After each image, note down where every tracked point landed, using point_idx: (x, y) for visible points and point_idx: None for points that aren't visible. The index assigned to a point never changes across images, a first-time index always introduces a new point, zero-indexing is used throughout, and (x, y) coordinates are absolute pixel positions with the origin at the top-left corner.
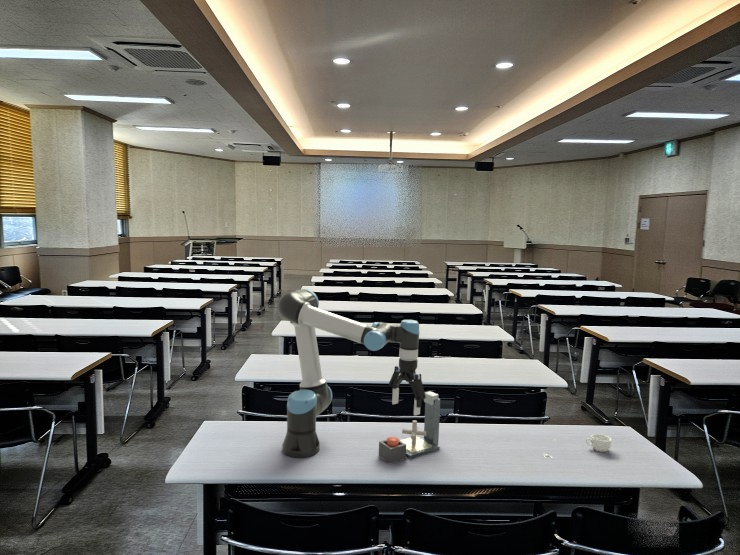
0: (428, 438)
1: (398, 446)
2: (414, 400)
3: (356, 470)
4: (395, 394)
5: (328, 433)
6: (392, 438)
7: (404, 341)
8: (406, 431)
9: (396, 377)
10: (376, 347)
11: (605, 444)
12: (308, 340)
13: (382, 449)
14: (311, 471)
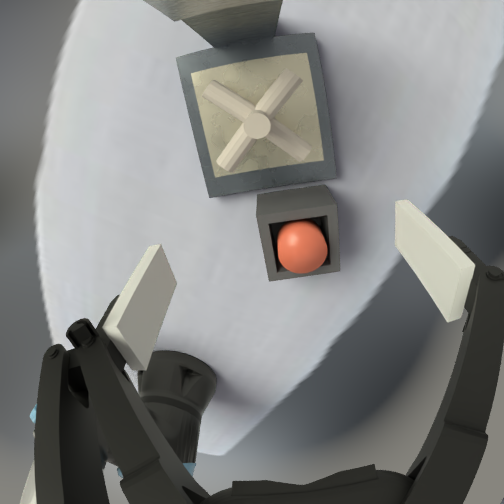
0: (243, 40)
1: (336, 239)
2: (442, 313)
3: (315, 325)
4: (150, 317)
5: (102, 311)
6: (294, 250)
7: None
8: (244, 156)
9: (75, 441)
10: None
11: None
12: None
13: None
14: (275, 383)
